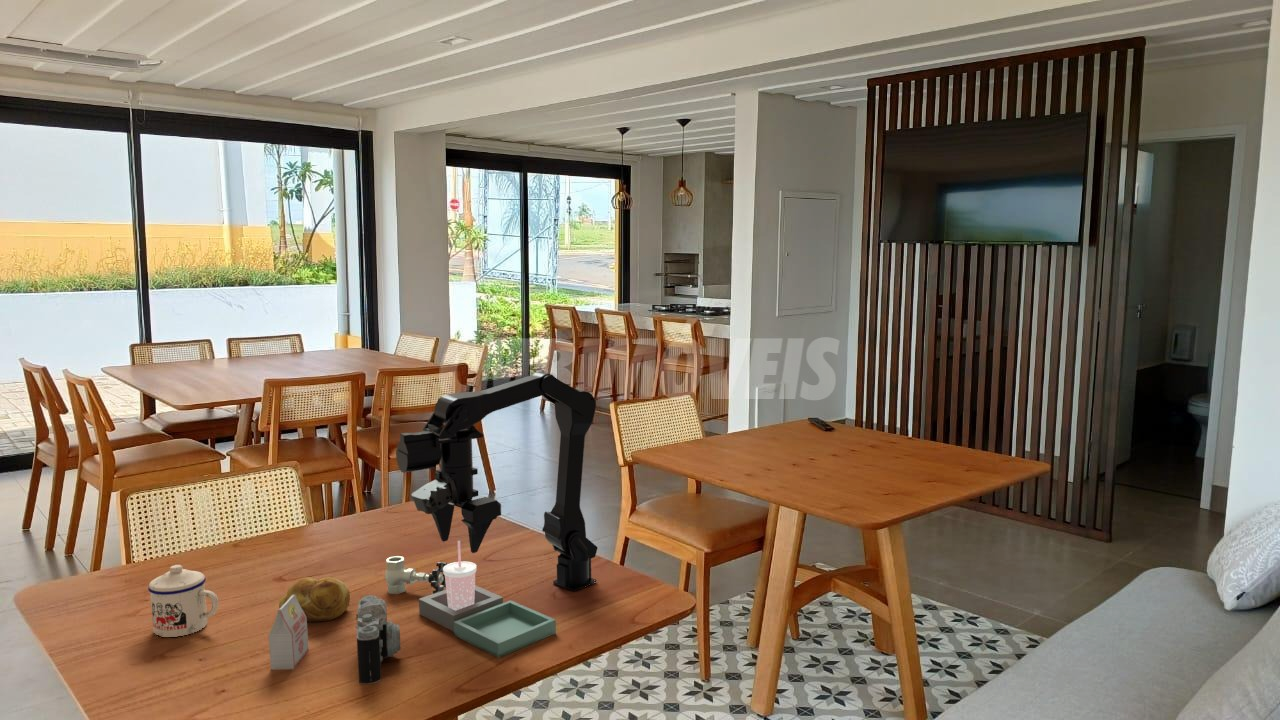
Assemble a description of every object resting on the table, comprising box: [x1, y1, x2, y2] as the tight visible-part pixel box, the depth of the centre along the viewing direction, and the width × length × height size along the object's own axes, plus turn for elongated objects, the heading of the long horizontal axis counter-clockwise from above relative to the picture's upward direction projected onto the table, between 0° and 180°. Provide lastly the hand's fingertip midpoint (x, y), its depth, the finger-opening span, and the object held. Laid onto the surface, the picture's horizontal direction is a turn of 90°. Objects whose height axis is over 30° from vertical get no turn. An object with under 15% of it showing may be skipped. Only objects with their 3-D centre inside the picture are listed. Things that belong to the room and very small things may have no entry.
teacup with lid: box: [148, 564, 219, 637], centre depth 158 cm, size 12×9×12 cm
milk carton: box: [268, 594, 309, 670], centre depth 146 cm, size 4×7×10 cm, turn 1°
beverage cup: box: [442, 540, 478, 611], centre depth 163 cm, size 6×6×14 cm
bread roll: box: [278, 576, 351, 622], centre depth 164 cm, size 13×10×8 cm
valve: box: [384, 555, 448, 595], centre depth 174 cm, size 7×7×12 cm
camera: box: [355, 594, 402, 685], centre depth 145 cm, size 15×7×10 cm, turn 16°
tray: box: [453, 600, 557, 659], centre depth 155 cm, size 13×13×2 cm
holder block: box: [418, 584, 504, 632], centre depth 164 cm, size 11×11×3 cm
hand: (459, 546), depth 163 cm, fingers open, 9 cm apart
